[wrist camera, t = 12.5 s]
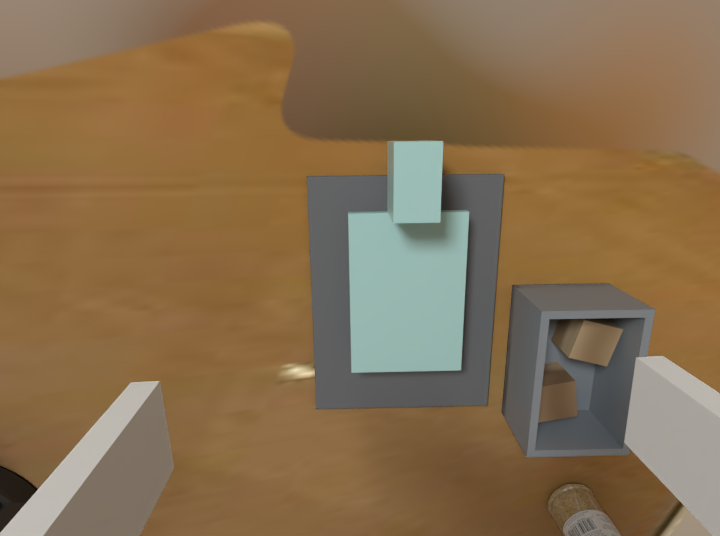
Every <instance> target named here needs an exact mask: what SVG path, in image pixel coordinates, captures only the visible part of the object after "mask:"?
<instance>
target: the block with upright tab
mask: <svg viewBox="0 0 720 536" xmlns="http://www.w3.org/2000/svg"><path fill="white" fill-rule="evenodd" d="M442 162H443V141H388V147H387V211H379V212H348V231H349V279H350V327H351V373H365V372H411V371H457V370H461V361H462V342H463V323H464V303H465V284H466V265H467V246H468V227H469V211H467V210H441V191H442Z"/></svg>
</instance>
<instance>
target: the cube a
mask: <svg viewBox="0 0 720 536" xmlns="http://www.w3.org/2000/svg"><path fill="white" fill-rule="evenodd" d="M574 416H578V415H577V400H576V384H575V380H574V379H573V378H572V377H571V376H570V375H569V374H568V372H567V371H566V370H565V369H564V368H563V367H562V366H561V365H560V364H559V363H558V362H552V363H547V364H544V374H543V383H542V392H541V401H540V410H539V419H538V423H540V422H545V421H551V420H557V419H563V418H569V417H574Z"/></svg>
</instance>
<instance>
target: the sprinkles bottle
mask: <svg viewBox="0 0 720 536" xmlns="http://www.w3.org/2000/svg"><path fill="white" fill-rule="evenodd" d="M548 511H549V513H550V515H551V516H552V518H554V519H555V521H556V523H557V525H558V527H559V529H560V530H561V533H562V534H563V536H621V534H620V533H619V531H618V530H617V528H616V527H615V525H614V524H613V522H612V521H611V520H610V518H609V517H608V516H607V515H606V514H605V512H604V510H603V509H602V508H601V506H600V505H599V503H598V502H597V500H596V499H595V496H594V494H593V492H592V491H591V490H590V489H589V488H588V487H586V486H585V485H582V484H575V483H572V484H566V485H563V486H561V487H560V488H558V489H557V490H555V491H554V492H553V494H552V495H551V496H550V498H549V501H548Z"/></svg>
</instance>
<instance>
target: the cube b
mask: <svg viewBox="0 0 720 536" xmlns="http://www.w3.org/2000/svg"><path fill="white" fill-rule="evenodd" d="M622 332H623V329H622V328H621V327H619V326H618V325H616V324H615V323H613V322H612V321H611V320H609V319H608V318H593V319H559V321H558V324H557V326H556V329H555V331H554V334H553V336H552V339H551V340H552V341H553V342H554V343H555V344H556V345H557V346H558V347H559V348H560V349H561V350H562V351H563V352H564V353H565V354H566V355H567V356H568V357H569V358H572V359H577V360H581V361H585V362H590V363H594V364H598V365H602V366H607V365H608V363H609V361H610V359H611V356H612V354H613V352H614V350H615V347H616V345H617V343H618V341H619V338H620V336H621V334H622Z"/></svg>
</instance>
